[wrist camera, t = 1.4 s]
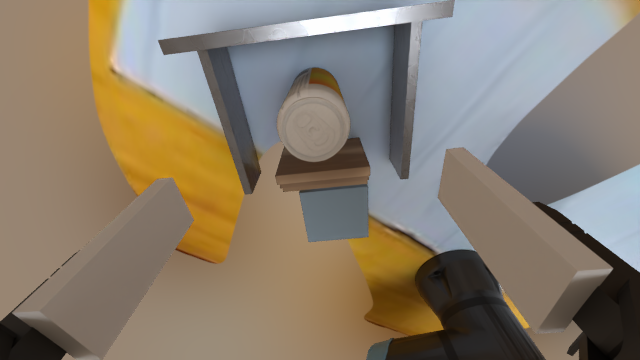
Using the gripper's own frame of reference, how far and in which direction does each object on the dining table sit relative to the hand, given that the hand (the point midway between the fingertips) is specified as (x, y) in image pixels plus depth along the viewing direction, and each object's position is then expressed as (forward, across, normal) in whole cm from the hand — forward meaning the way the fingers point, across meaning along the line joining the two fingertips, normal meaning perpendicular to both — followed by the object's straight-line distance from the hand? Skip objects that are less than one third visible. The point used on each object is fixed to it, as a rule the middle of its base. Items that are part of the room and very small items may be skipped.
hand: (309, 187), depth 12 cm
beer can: (+23, 0, 0) cm, 23 cm away
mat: (+23, -1, +21) cm, 31 cm away
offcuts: (+23, 0, +9) cm, 25 cm away
